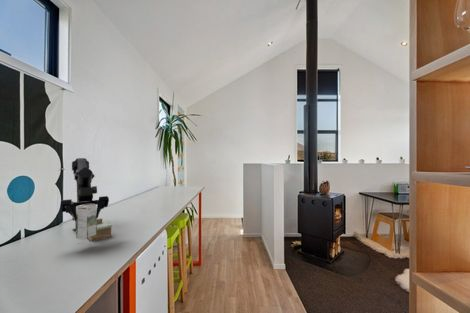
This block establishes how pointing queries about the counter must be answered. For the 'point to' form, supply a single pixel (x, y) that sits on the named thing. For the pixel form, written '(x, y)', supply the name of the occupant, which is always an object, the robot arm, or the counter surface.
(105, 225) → the lid
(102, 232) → the toolbox
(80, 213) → the syrup box
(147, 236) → the counter surface
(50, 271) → the counter surface
